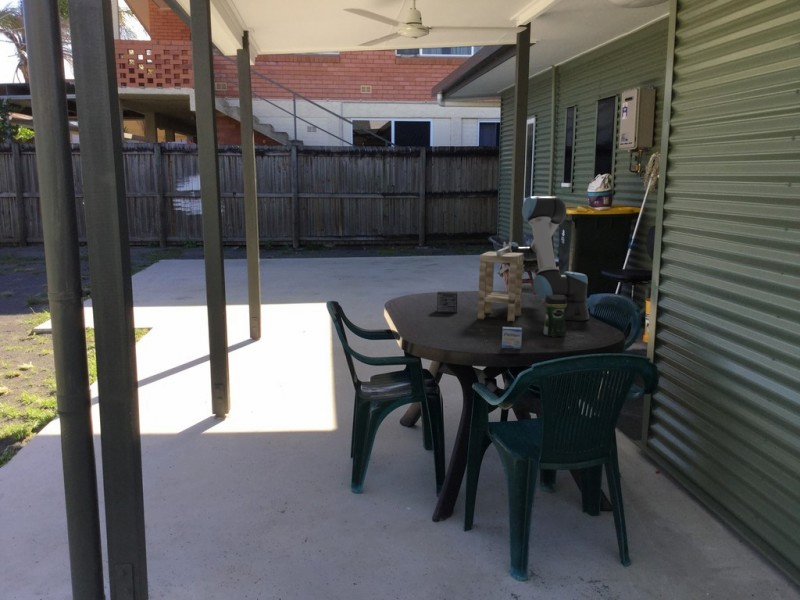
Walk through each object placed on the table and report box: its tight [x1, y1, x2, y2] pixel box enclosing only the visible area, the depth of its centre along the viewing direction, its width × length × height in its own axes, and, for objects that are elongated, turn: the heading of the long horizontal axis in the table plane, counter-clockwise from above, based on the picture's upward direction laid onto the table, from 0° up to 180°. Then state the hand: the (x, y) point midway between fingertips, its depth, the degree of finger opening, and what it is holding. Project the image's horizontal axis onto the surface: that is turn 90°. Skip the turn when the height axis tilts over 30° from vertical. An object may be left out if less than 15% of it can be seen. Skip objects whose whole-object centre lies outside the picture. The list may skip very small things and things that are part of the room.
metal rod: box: [496, 246, 510, 255], centre depth 336 cm, size 26×2×2 cm, turn 159°
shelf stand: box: [477, 251, 524, 323], centre depth 335 cm, size 18×18×32 cm
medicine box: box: [501, 326, 523, 350], centre depth 276 cm, size 8×4×9 cm, turn 81°
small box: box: [436, 291, 458, 314], centre depth 348 cm, size 11×6×10 cm, turn 84°
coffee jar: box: [542, 295, 567, 338], centre depth 298 cm, size 10×8×19 cm
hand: (506, 244), depth 340 cm, fingers closed on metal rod, 2 cm apart
